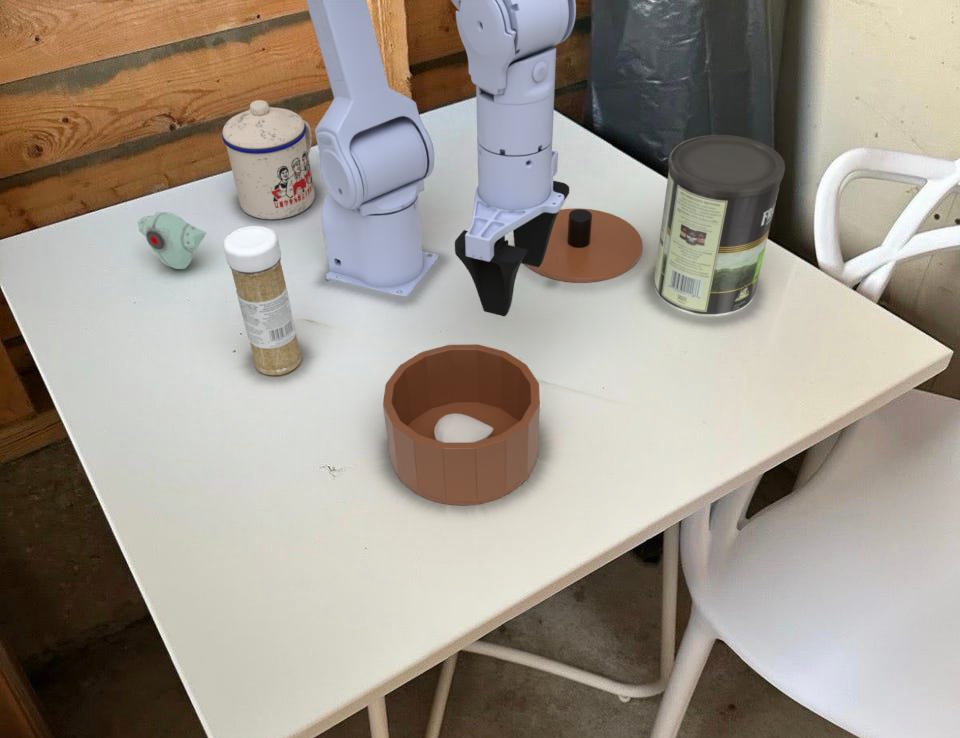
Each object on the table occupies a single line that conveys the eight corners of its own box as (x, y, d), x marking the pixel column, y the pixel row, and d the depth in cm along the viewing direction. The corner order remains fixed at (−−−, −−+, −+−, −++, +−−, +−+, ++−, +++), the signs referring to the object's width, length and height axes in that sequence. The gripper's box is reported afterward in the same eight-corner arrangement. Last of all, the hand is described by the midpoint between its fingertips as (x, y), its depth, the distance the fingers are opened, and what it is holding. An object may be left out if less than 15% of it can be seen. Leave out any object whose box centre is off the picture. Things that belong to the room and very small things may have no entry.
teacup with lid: (286, 229, 103) (266, 130, 94) (221, 210, 106) (197, 112, 98) (346, 180, 110) (333, 83, 102) (284, 163, 113) (266, 68, 105)
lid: (496, 270, 97) (495, 235, 94) (541, 207, 105) (542, 172, 102) (619, 299, 93) (623, 263, 90) (656, 231, 101) (661, 195, 98)
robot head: (221, 268, 98) (206, 211, 93) (197, 289, 95) (180, 232, 91) (160, 251, 100) (142, 195, 96) (135, 271, 98) (116, 215, 93)
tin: (365, 479, 76) (355, 422, 72) (430, 387, 84) (425, 330, 80) (503, 523, 73) (503, 466, 68) (558, 422, 81) (561, 365, 76)
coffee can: (754, 265, 96) (784, 137, 86) (754, 326, 89) (787, 194, 79) (655, 256, 98) (672, 129, 88) (647, 314, 91) (665, 184, 81)
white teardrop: (431, 431, 79) (429, 410, 78) (488, 422, 80) (487, 401, 78) (440, 467, 77) (438, 445, 75) (499, 457, 77) (498, 435, 75)
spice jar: (293, 341, 89) (268, 218, 79) (309, 368, 86) (284, 244, 77) (247, 355, 88) (215, 231, 78) (261, 383, 85) (230, 259, 75)
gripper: (527, 195, 64) (524, 347, 74) (596, 106, 74) (585, 252, 83) (436, 175, 67) (445, 326, 76) (514, 91, 76) (513, 236, 85)
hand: (513, 286), depth 80 cm, fingers open, 7 cm apart
